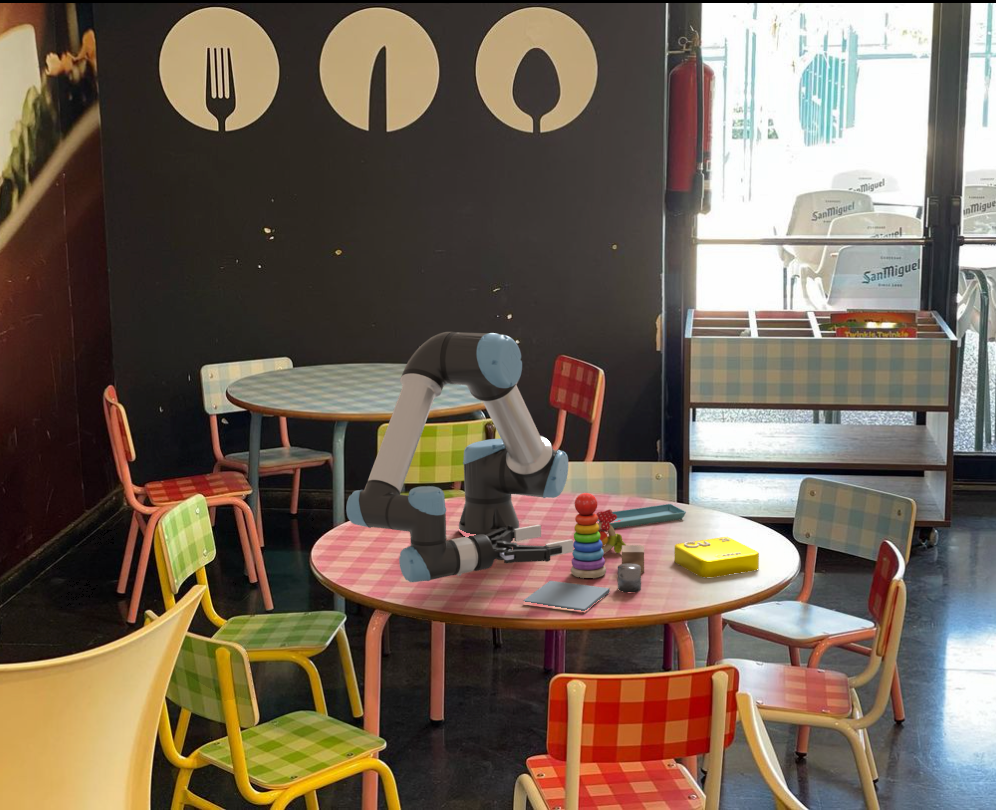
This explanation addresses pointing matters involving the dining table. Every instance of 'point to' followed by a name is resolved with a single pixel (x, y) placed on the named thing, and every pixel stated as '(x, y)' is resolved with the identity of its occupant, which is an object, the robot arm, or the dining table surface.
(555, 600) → the pad
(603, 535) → the bird rattle
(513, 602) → the dining table surface
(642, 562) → the walnut cube
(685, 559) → the element tile
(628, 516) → the rectangular tray
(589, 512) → the stacking toy
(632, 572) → the graphite cylinder
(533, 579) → the dining table surface
